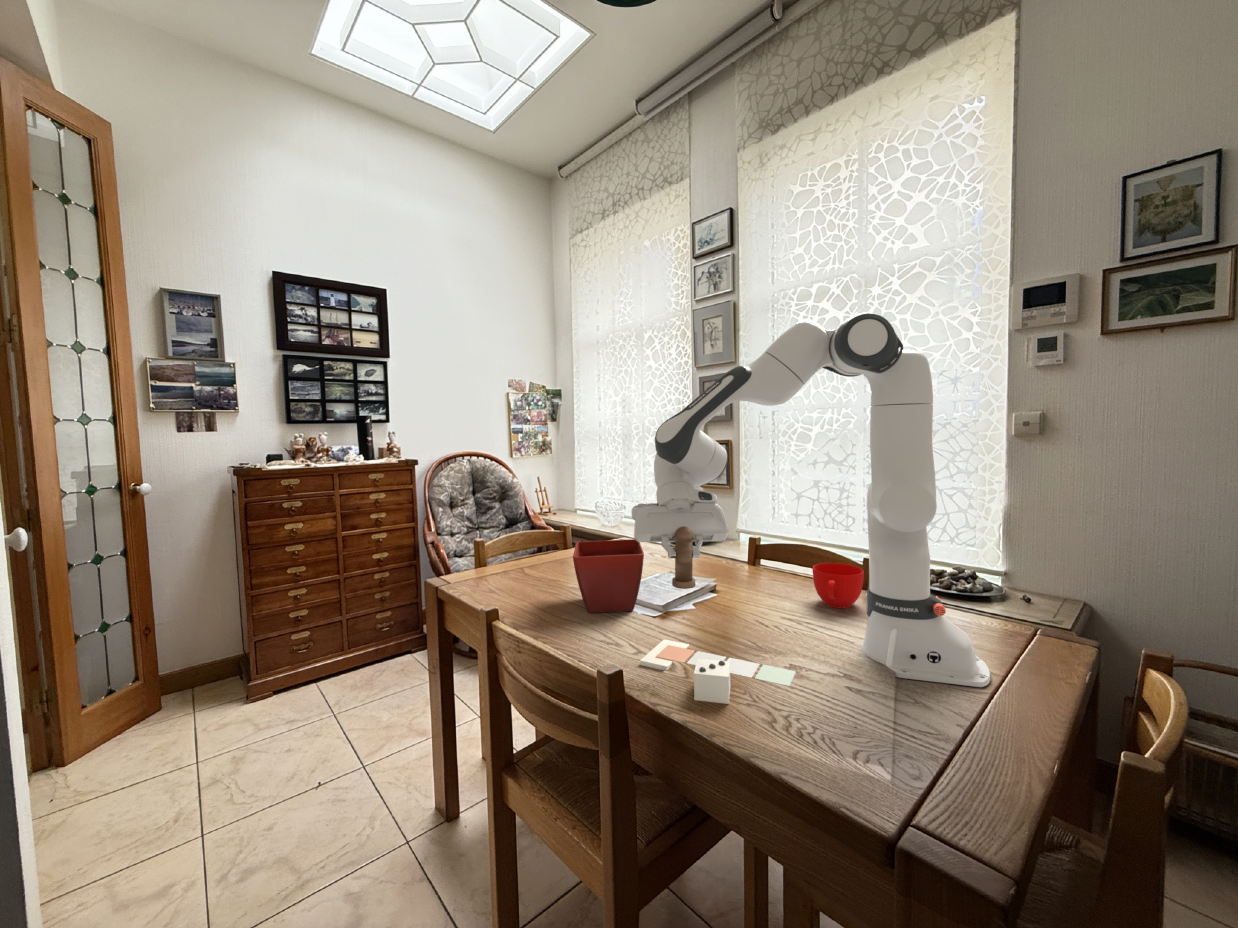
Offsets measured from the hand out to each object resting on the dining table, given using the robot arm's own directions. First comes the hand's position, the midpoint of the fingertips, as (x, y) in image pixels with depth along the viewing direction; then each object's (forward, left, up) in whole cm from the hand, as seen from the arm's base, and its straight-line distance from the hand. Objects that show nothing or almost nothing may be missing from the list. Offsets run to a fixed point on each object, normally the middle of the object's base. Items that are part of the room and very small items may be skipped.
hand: (684, 556), depth 102 cm
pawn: (0, 0, -6) cm, 6 cm away
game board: (-8, -1, -23) cm, 24 cm away
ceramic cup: (-24, -50, -23) cm, 60 cm away
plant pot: (+33, -24, -23) cm, 47 cm away
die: (-10, +11, -23) cm, 27 cm away
